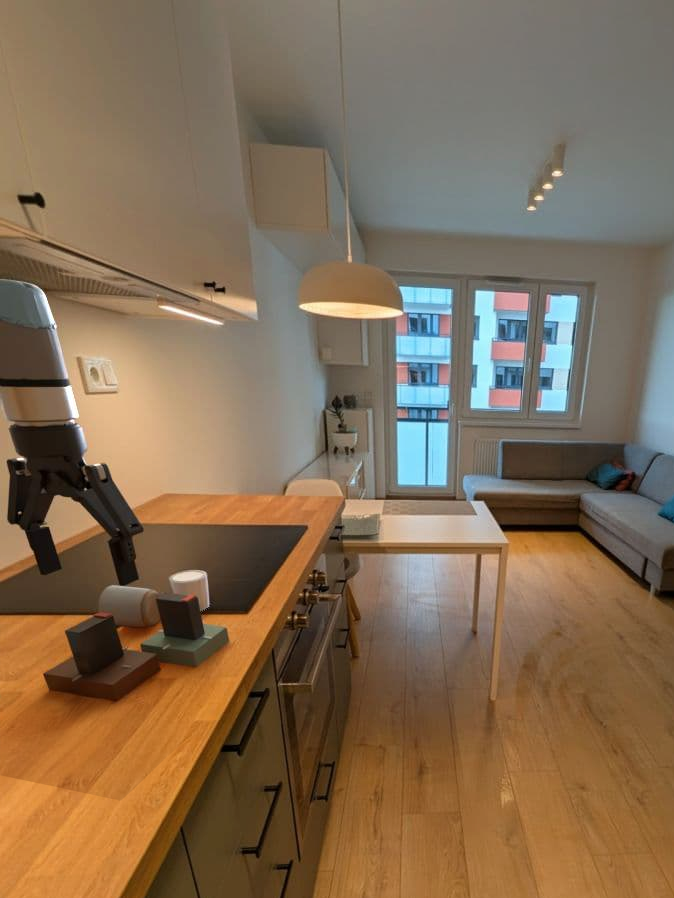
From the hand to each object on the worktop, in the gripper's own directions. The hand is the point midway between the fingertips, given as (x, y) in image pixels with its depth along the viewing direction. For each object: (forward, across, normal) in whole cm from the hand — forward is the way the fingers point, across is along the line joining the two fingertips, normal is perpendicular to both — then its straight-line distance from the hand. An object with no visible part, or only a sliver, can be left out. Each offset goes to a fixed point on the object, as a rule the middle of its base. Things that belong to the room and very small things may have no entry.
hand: (89, 577), depth 73 cm
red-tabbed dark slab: (+14, +1, +1) cm, 14 cm away
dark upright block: (+14, -5, -10) cm, 18 cm away
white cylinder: (+17, +5, -24) cm, 30 cm away
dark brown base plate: (+17, +1, +1) cm, 17 cm away
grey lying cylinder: (+17, +11, -16) cm, 26 cm away
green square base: (+17, -5, -10) cm, 20 cm away
